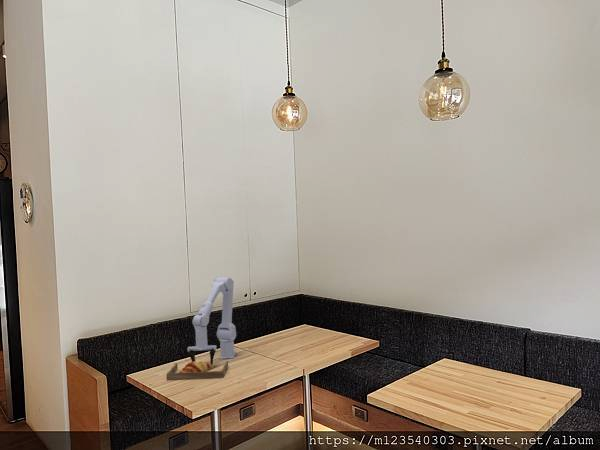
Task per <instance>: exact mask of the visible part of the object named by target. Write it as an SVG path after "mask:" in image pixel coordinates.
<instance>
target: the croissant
mask: <svg viewBox="0 0 600 450" xmlns="http://www.w3.org/2000/svg"><path fill="white" fill-rule="evenodd" d="M212 369H214V363H213V364H211V363H210V362H204V361H199V362H197V361H195V362H192V361H191V362H188V363H187V364H186V365H185V366H184V367H183V368H181V370H180V371H179V372H178V373H188V372H210V370H212Z"/></svg>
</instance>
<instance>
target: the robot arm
mask: <svg viewBox="0 0 600 450" xmlns="http://www.w3.org/2000/svg"><path fill="white" fill-rule="evenodd" d="M234 282H235V281H234V280H233V278H231V277H229V276H227V277H226V276H223V277H222V276H221V277H220V276H215V277H214V279H213V281H212V283H211V291H210V292H209V295H208V297H207V300H206V301H204V302H203V303H202V305H201V306H200V309H199V310H198V313H197V314H196V315H194V316H193V318H192V321H191V322H192V325H193V328H194V330H195V345H194V346H192V345H191V346H188V347H187V352H188V356H189V358H190V360H191V362H196V351H197V352H199V351H202V352H203V351H209V356H210V358H209V359H210V362H209V363H210V364H213V365H214V357H215V354H216V351H217V345H215V344H213V345H212V344H210V345H209V344H208V330H207V329H208V327H207V326H208V324H209V322H210V315H211V313H212V311H213V309H214V302H215V301H216V299H217V298H218V295H219V294H220V293H221V294H222V307H221V308H222V310H221V322H220V324H219V325H218V326H217V331H216V337H217V339H218V341H219V343H220V345H219V347H220V356H219V357H218V358H219V359H220V360H222V359H223V360H224V359H234V358H235V356H236V354H237V352H235V342H234V341H235V339H236V338H237V329H236V325H235V324H234V323H232V322H233V319H232V317H233V303H234V302H233V300H234V298H233V297H234Z"/></svg>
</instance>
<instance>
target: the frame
mask: <svg viewBox="0 0 600 450" xmlns="http://www.w3.org/2000/svg"><path fill="white" fill-rule="evenodd" d="M228 368H229V360H227V361H225V363H224V365H223V367H222V369H221V370H216V371H215V370H213V371H212V370H211V371H207V372H188V373H179V372H177V371H178V363H175V364H174V365H173V366H172V367H171V368H170V369H169V370H168V371H167V373H166V381H181V380H182V381H183V380H204V379H207V380H208V379H223V378H224V376H225V374H226V372H227V370H228Z"/></svg>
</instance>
